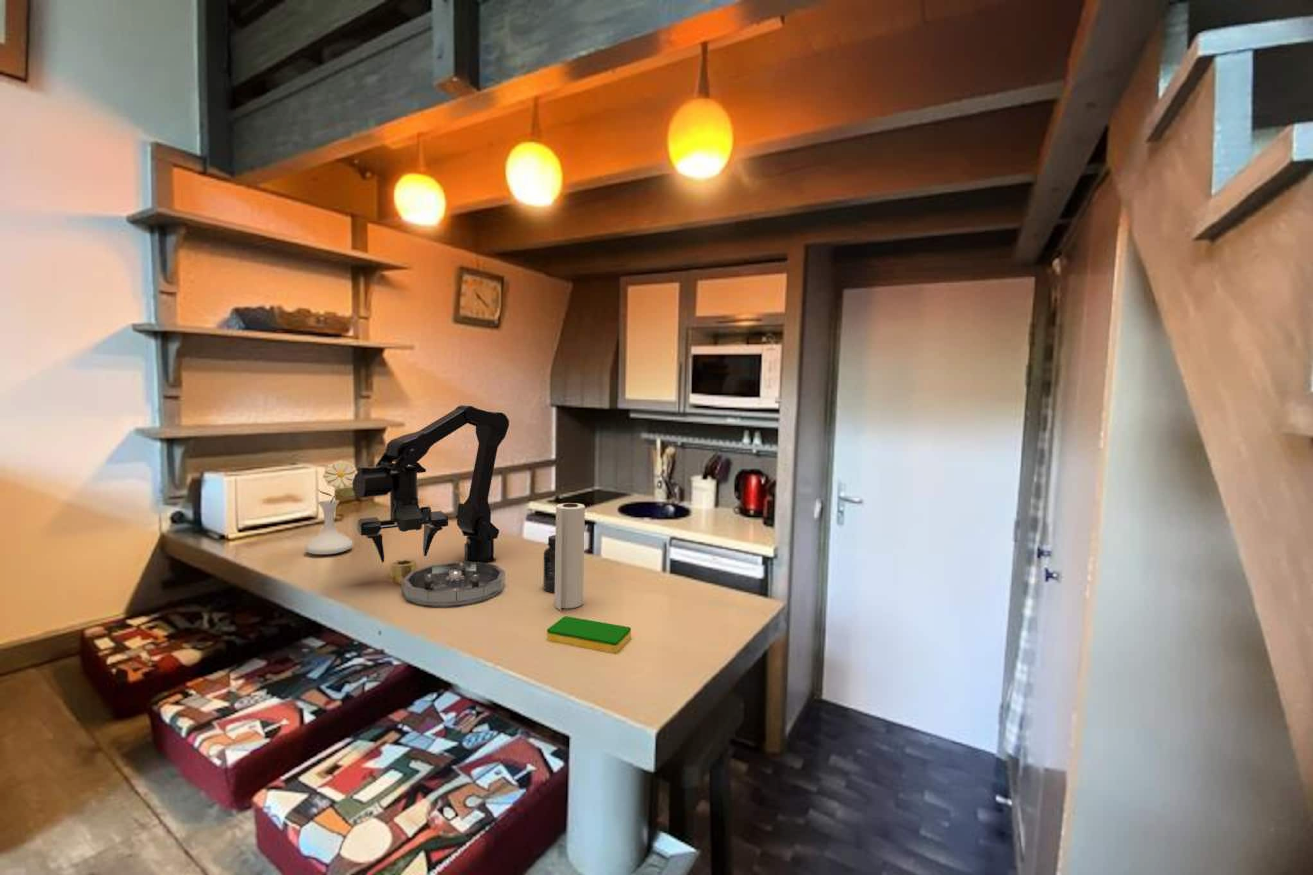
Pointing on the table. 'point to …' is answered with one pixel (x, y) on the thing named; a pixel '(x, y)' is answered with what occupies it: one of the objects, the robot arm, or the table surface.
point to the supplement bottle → (549, 565)
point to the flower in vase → (333, 511)
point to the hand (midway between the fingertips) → (404, 558)
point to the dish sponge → (589, 634)
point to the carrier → (453, 584)
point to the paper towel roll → (569, 555)
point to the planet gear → (401, 570)
